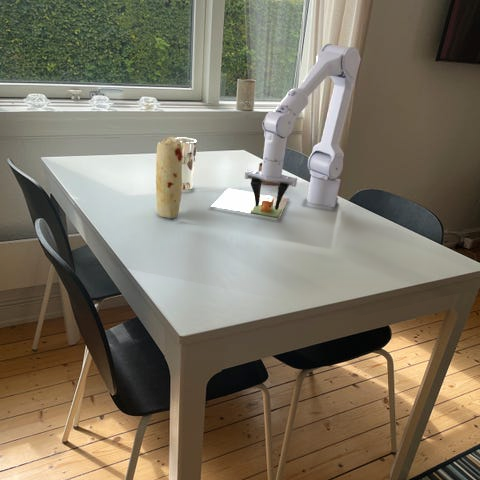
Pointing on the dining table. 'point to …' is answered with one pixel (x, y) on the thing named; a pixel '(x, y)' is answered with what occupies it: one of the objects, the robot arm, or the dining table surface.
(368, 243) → the dining table surface
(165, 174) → the food model
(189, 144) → the beer glass
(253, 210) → the corner pad
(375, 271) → the dining table surface
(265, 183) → the cup and saucer
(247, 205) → the board
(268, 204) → the goldfish
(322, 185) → the robot arm
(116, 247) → the dining table surface
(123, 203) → the dining table surface
